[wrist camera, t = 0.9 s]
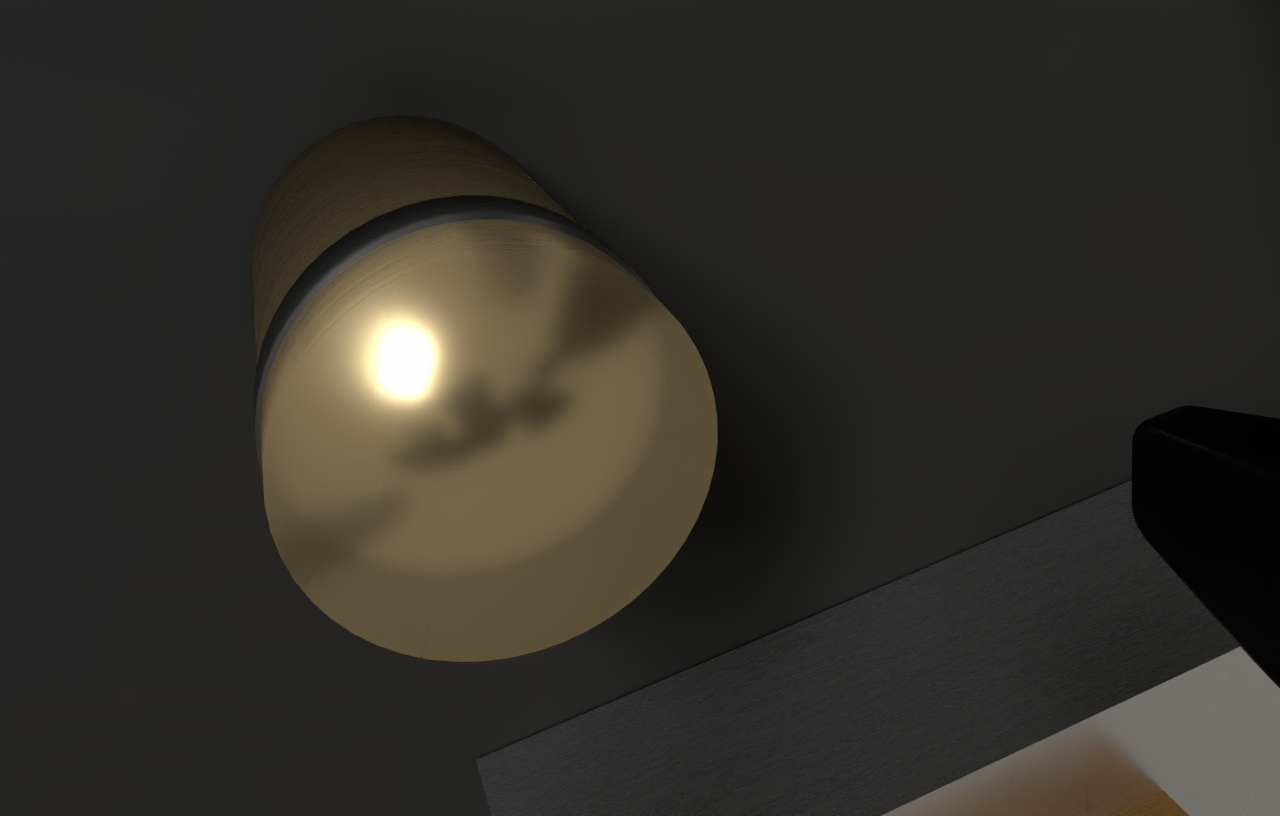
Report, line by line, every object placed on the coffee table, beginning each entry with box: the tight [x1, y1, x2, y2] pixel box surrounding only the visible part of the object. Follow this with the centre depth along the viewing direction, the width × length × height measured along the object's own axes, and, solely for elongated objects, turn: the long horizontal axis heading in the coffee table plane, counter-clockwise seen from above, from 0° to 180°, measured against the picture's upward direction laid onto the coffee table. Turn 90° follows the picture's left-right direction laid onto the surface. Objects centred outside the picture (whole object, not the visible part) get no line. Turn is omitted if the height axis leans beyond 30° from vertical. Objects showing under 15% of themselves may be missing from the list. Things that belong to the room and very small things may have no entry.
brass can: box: [252, 115, 718, 662], centre depth 14 cm, size 5×5×7 cm
